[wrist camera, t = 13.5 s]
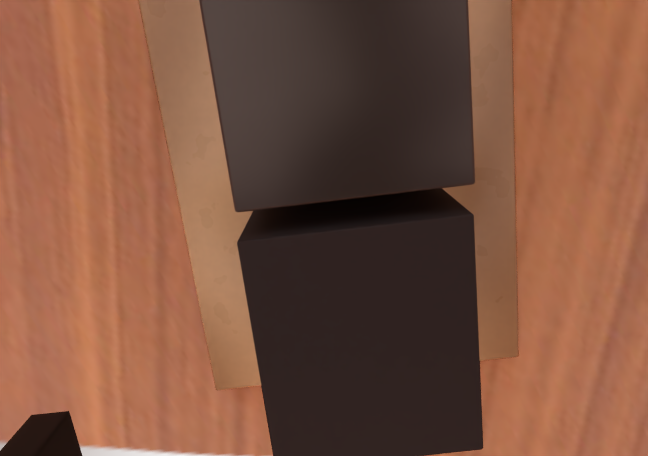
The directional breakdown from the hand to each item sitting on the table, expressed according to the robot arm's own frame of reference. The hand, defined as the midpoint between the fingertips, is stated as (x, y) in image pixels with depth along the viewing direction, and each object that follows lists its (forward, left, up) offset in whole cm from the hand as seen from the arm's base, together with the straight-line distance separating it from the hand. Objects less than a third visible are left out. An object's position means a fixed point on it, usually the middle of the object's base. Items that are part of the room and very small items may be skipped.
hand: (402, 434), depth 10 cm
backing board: (0, -4, -10) cm, 11 cm away
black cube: (0, 0, -9) cm, 9 cm away
